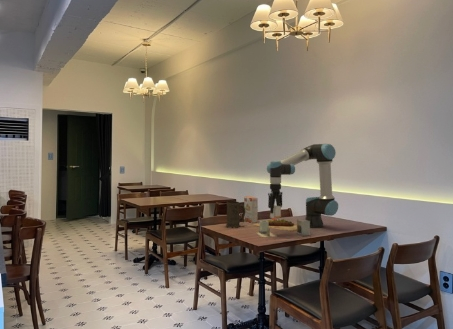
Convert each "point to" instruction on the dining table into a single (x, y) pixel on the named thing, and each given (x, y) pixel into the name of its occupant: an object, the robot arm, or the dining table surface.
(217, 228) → the dining table surface
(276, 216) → the sleeve
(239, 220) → the beer stein
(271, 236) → the pin board
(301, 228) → the feeder chute
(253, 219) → the cracker box
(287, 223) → the cutting board
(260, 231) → the seated sleeve
